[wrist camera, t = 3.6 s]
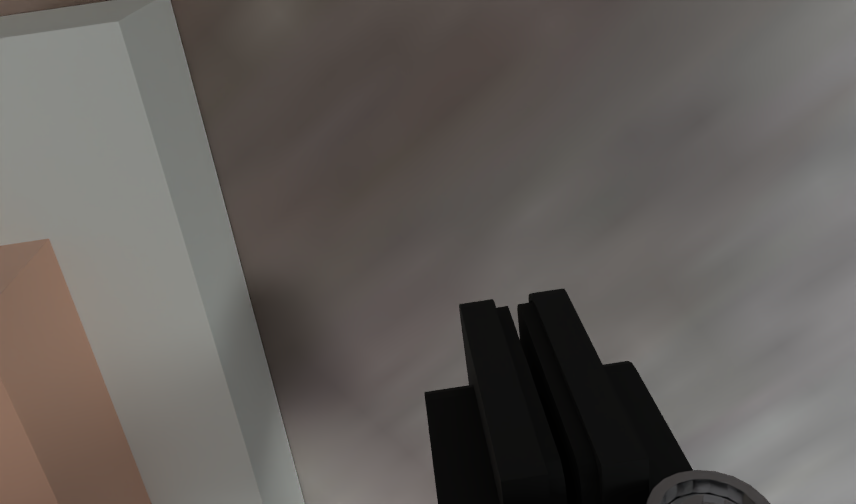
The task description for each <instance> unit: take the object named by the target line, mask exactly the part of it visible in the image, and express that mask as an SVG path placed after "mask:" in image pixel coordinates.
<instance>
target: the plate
mask: <svg viewBox="0 0 856 504" xmlns="http://www.w3.org/2000/svg"><path fill="white" fill-rule="evenodd" d="M43 239H49V240H50V242H51V245H52V248H53V250H54V253H55V255H56V258H57V260H58V263H59V266H60V268H61V271H62V273H63V276H64V279H65V281H66V284H67V286H68V289H69V291H70V294H71V297H72V299H73V302H74V304H75V307H76V310H77V312H78V315H79V317H80V320H81V322H82V325H83V328H84V330H85V333H86V335H87V338H88V341H89V343H90V346H91V348H92V351H93V354H94V356H95V359H96V361H97V364H98V366H99V369H100V372H101V374H102V377H103V379H104V382H105V385H106V387H107V390H108V392H109V395H110V397H111V400H112V403H113V405H114V408H115V410H116V413H117V416H118V418H119V421H120V423H121V426H122V428H123V431H124V434H125V436H126V439H127V441H128V444H129V447H130V449H131V452H132V454H133V457H134V459H135V462H136V465H137V467H138V470H139V472H140V475H141V478H142V480H143V483H144V485H145V488H146V491H147V493H148V496H149V498H150V501H151V503H152V504H305V503H304V499H303V495H302V491H301V488H300V484H299V480H298V476H297V473H296V469H295V465H294V461H293V458H292V454H291V450H290V446H289V443H288V439H287V435H286V431H285V428H284V424H283V420H282V416H281V413H280V409H279V405H278V401H277V398H276V394H275V390H274V386H273V383H272V379H271V375H270V371H269V368H268V364H267V360H266V356H265V353H264V349H263V345H262V341H261V338H260V334H259V330H258V326H257V323H256V319H255V315H254V312H253V308H252V304H251V300H250V297H249V293H248V289H247V285H246V282H245V278H244V274H243V270H242V267H241V263H240V259H239V255H238V252H237V248H236V244H235V240H234V237H233V233H232V229H231V225H230V222H229V218H228V214H227V210H226V207H225V203H224V199H223V195H222V192H221V188H220V184H219V180H218V177H217V173H216V169H215V165H214V162H213V158H212V154H211V150H210V147H209V143H208V139H207V135H206V132H205V128H204V124H203V120H202V117H201V113H200V109H199V105H198V102H197V98H196V94H195V90H194V87H193V83H192V79H191V76H190V72H189V68H188V64H187V61H186V57H185V53H184V49H183V46H182V42H181V38H180V34H179V31H178V27H177V23H176V19H175V16H174V12H173V8H172V4H171V1H170V0H111V1H104V2H97V3H91V4H84V5H77V6H70V7H63V8H56V9H49V10H42V11H35V12H28V13H21V14H14V15H7V16H0V246H2V245H9V244H16V243H22V242H29V241H36V240H43Z"/></svg>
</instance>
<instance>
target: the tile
mask: <svg viewBox="0 0 856 504" xmlns="http://www.w3.org/2000/svg"><path fill="white" fill-rule="evenodd" d="M0 504H152V503H151V501H150V498H149V496H148V493H147V491H146V488H145V485H144V483H143V480H142V478H141V475H140V472H139V470H138V467H137V465H136V462H135V459H134V457H133V454H132V452H131V449H130V447H129V444H128V441H127V439H126V436H125V434H124V431H123V428H122V426H121V423H120V421H119V418H118V416H117V413H116V410H115V408H114V405H113V403H112V400H111V397H110V395H109V392H108V390H107V387H106V385H105V382H104V379H103V377H102V374H101V372H100V369H99V366H98V364H97V361H96V359H95V356H94V354H93V351H92V348H91V346H90V343H89V341H88V338H87V335H86V333H85V330H84V328H83V325H82V322H81V320H80V317H79V315H78V312H77V310H76V307H75V304H74V302H73V299H72V297H71V294H70V291H69V289H68V286H67V284H66V281H65V279H64V276H63V273H62V271H61V268H60V266H59V263H58V260H57V258H56V255H55V253H54V250H53V248H52V245H51V242H50V240H49V239H43V240H36V241H29V242H22V243H16V244H9V245H2V246H0Z"/></svg>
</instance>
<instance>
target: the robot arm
mask: <svg viewBox="0 0 856 504" xmlns="http://www.w3.org/2000/svg"><path fill="white" fill-rule="evenodd" d="M459 308H460V318H461V325H462V333H463V341H464V349H465V356H466V364H467V372H468V380H469V385H468V386H462V387H455V388H449V389H442V390H436V391H429V392H425V401H426V409H427V417H428V426H429V434H430V442H431V450H432V458H433V466H434V475H435V483H436V491H437V499H438V504H770V503H769V502H768V501H767V499H766V498H765V497H764V496H763V495H761V494H760V493H759V492H758V491H757V490H756V489H754V488H753V487H752V486H751V485H749V484H747V483H745V482H743V481H741V480H739V479H737V478H735V477H733V476H730V475H726V474H723V473H719V472H715V471H702V470H692V468H691V466H690V464H689V462H688V461H687V459H686V457H685V455H684V454H683V452H682V450H681V448H680V446H679V445H678V443H677V441H676V439H675V437H674V436H673V434H672V432H671V430H670V429H669V427H668V425H667V423H666V421H665V420H664V418H663V416H662V414H661V413H660V411H659V409H658V407H657V405H656V404H655V402H654V400H653V398H652V397H651V395H650V393H649V391H648V389H647V388H646V386H645V384H644V382H643V381H642V379H641V377H640V375H639V373H638V372H637V370H636V368H635V367H634V365H633V364H632V363H631V362H629V361H625V362H618V363H612V364H605V365H602V363H601V361H600V359H599V357H598V355H597V353H596V351H595V349H594V347H593V345H592V343H591V341H590V339H589V337H588V335H587V333H586V331H585V329H584V327H583V324H582V322H581V320H580V318H579V316H578V314H577V312H576V310H575V308H574V306H573V304H572V302H571V300H570V298H569V296H568V294H567V292H566V291H565V289H557V290H550V291H544V292H537V293H531V294H529V303H525V304H518V309H517V310H518V322H519V333H520V340H519V337H518V334H517V331H516V328H515V325H514V322H513V319H512V316H511V313H510V310H509V308H508V306H505V307H498V308H496V306H495V303H494V300H493V299H491V300H485V301H478V302H471V303H465V304H459Z"/></svg>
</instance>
